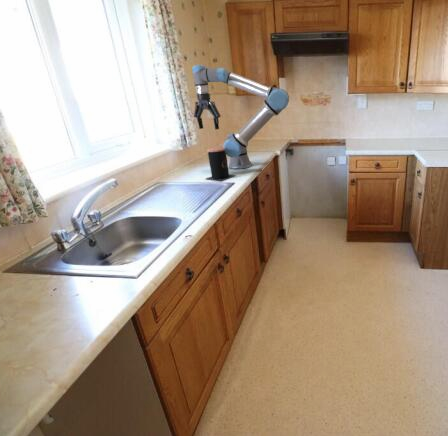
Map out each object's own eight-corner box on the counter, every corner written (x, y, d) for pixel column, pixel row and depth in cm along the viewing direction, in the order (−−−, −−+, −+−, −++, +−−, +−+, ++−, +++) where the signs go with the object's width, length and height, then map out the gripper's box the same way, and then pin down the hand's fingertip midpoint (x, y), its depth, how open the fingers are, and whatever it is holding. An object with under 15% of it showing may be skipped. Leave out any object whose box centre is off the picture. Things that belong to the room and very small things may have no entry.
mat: (220, 173, 213) (220, 173, 213) (235, 175, 207) (235, 175, 206) (205, 179, 203) (205, 178, 202) (221, 181, 196) (220, 181, 196)
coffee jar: (226, 179, 199) (222, 150, 192) (209, 179, 200) (204, 150, 193) (231, 174, 209) (227, 146, 202) (215, 174, 210) (210, 147, 202)
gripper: (183, 94, 199) (190, 129, 207) (213, 93, 188) (219, 130, 196) (193, 93, 205) (199, 127, 213) (222, 92, 194) (228, 128, 202)
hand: (209, 128), depth 205 cm, fingers open, 13 cm apart
